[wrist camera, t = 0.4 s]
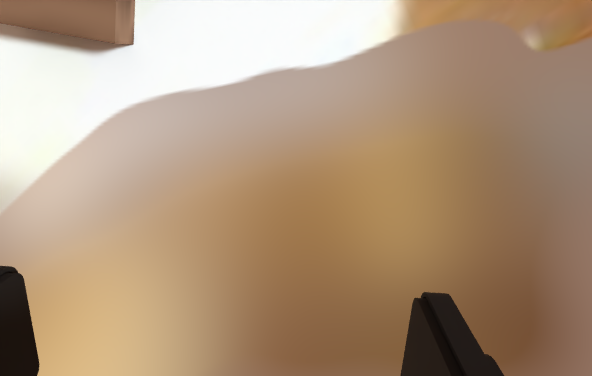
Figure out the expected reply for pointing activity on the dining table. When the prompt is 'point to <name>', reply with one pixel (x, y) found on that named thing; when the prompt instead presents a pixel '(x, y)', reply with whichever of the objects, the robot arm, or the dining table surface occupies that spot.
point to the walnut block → (74, 18)
